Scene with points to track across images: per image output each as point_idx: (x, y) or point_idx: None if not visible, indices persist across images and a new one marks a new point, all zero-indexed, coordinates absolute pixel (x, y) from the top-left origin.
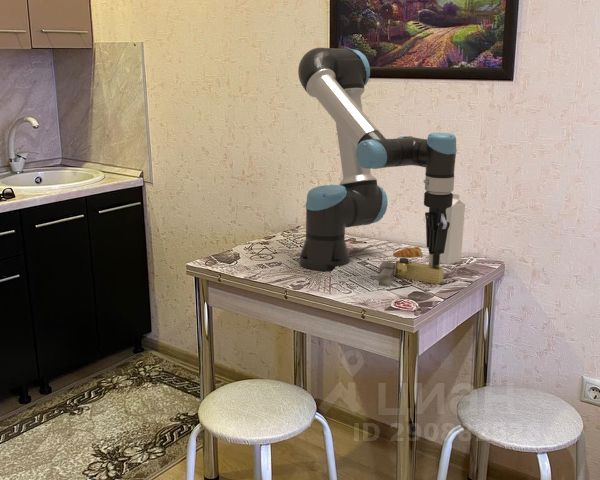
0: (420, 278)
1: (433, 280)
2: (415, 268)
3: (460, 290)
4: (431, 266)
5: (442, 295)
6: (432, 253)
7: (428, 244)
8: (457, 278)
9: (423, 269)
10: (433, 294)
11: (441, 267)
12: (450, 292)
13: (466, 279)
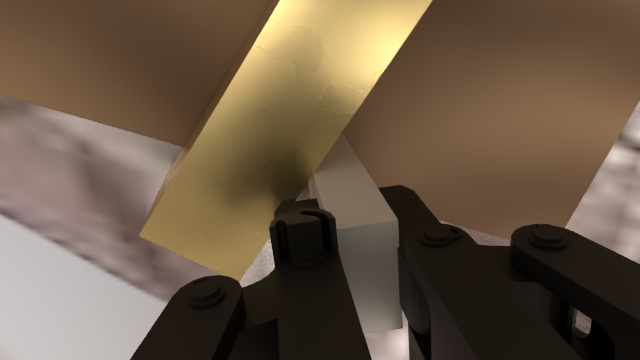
0: (243, 48)
1: (183, 150)
2: (277, 2)
3: (156, 296)
4: (264, 177)
5: (11, 167)
6: (276, 250)
7: (532, 264)
8: (403, 314)
9: (228, 83)
10: (20, 104)
11: (234, 263)
12: (99, 231)
13: (381, 356)
